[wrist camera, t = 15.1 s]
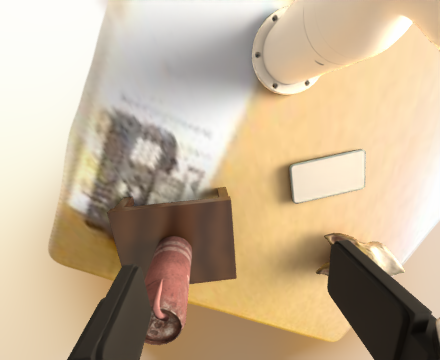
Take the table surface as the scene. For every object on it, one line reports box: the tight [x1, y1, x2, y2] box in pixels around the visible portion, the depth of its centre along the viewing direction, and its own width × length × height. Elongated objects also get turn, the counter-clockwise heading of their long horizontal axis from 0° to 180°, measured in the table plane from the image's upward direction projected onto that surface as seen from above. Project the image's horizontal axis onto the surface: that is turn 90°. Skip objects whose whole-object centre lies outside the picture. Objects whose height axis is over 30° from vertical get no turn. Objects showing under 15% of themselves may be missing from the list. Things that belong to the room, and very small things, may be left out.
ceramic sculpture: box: [316, 233, 405, 276], centre depth 44 cm, size 11×9×15 cm
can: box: [144, 236, 192, 345], centre depth 30 cm, size 6×6×14 cm
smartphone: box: [289, 149, 366, 204], centre depth 41 cm, size 8×1×15 cm
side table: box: [107, 187, 236, 284], centre depth 40 cm, size 20×16×7 cm
